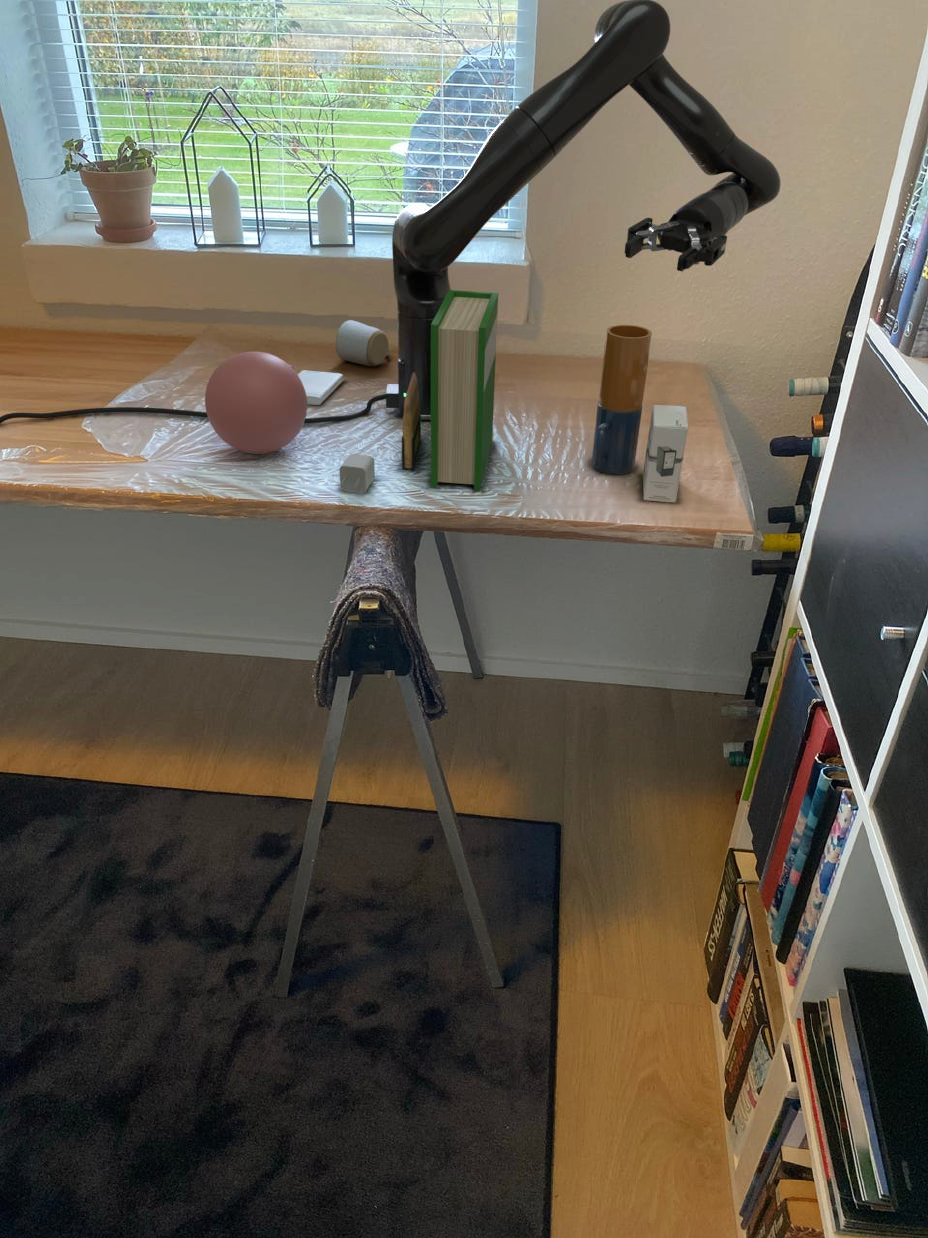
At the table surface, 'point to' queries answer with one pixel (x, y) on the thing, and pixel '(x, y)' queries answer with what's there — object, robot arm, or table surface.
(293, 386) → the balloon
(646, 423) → the table surface
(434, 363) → the hardback book
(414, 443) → the ammunition clip
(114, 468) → the table surface
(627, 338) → the tumbler
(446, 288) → the robot arm
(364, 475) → the usb wall charger
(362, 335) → the ceramic mug
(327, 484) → the table surface
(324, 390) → the hard drive
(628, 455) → the mug
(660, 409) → the ink box
